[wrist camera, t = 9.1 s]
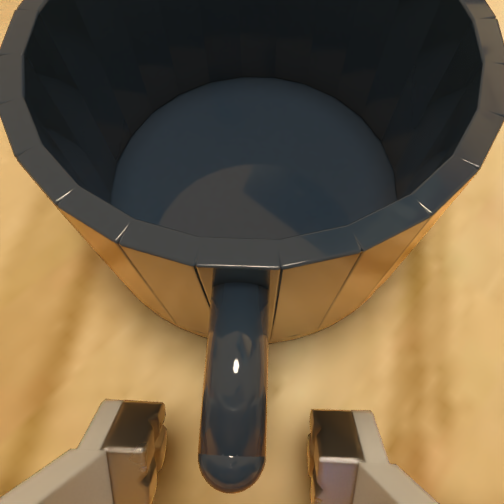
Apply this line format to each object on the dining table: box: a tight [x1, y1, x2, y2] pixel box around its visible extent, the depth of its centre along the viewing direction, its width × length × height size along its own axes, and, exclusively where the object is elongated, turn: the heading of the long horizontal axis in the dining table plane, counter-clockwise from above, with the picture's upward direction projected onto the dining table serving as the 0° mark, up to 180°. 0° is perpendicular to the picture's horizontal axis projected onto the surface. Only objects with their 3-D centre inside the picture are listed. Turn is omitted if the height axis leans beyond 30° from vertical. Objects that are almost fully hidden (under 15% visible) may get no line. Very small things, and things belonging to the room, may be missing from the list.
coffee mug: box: [0, 0, 504, 494], centre depth 14 cm, size 18×13×8 cm
